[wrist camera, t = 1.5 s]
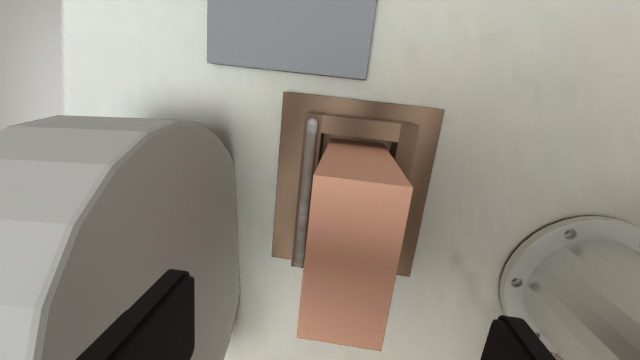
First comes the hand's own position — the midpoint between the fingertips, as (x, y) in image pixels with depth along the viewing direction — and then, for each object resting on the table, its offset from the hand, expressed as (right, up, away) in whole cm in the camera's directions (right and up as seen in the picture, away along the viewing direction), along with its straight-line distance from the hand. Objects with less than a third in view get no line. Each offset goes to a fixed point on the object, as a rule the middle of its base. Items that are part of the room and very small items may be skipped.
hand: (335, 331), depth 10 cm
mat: (-2, +18, +13) cm, 23 cm away
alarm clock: (-12, 0, +19) cm, 22 cm away
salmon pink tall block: (+2, +4, +15) cm, 16 cm away
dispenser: (+2, +4, +16) cm, 17 cm away
